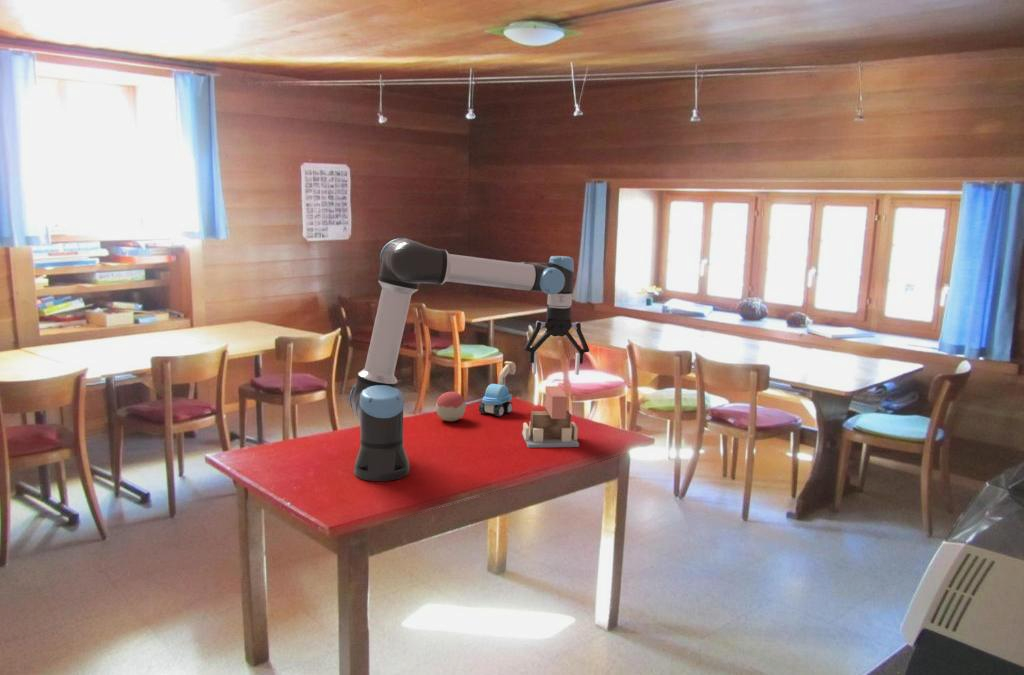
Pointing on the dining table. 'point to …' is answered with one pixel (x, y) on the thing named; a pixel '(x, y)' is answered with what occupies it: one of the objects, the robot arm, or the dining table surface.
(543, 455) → the dining table surface
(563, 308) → the robot arm
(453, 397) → the toy
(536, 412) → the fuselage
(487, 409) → the toy excavator
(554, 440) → the jig
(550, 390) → the salmon pink block
